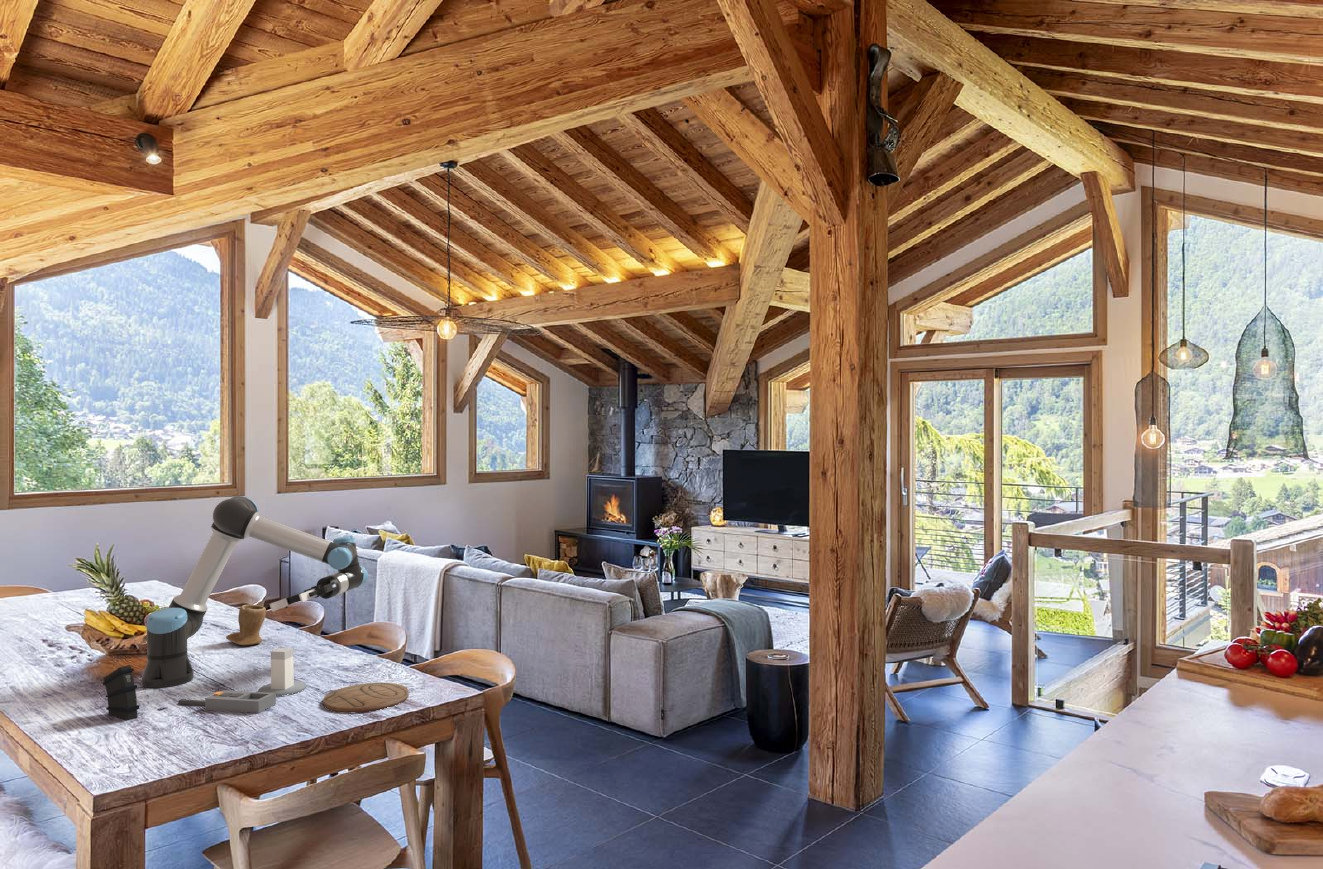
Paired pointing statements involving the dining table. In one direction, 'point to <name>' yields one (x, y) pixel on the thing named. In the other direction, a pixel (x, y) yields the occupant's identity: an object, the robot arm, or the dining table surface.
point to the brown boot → (249, 625)
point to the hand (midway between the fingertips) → (285, 602)
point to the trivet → (366, 697)
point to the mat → (295, 688)
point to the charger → (282, 668)
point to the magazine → (121, 693)
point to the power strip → (235, 701)
